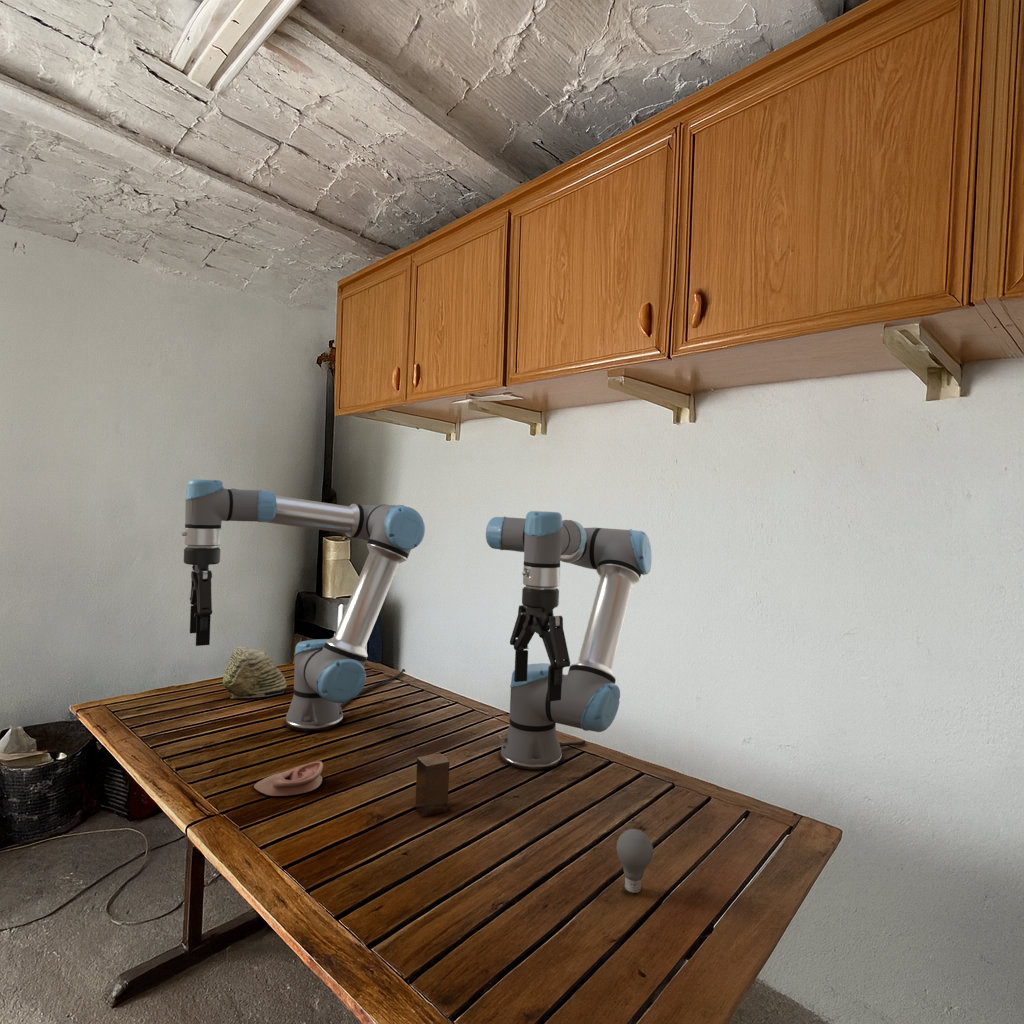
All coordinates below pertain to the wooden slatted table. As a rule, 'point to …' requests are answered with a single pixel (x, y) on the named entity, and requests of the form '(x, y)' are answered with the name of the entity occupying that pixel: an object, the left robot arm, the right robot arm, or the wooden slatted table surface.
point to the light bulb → (634, 857)
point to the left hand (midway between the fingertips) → (199, 638)
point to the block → (432, 784)
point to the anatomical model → (292, 781)
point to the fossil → (252, 674)
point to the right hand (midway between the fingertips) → (536, 690)
